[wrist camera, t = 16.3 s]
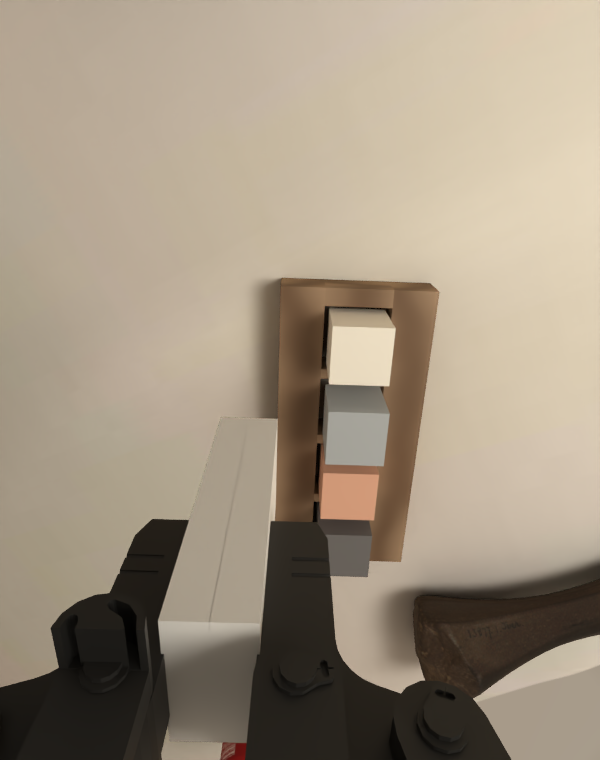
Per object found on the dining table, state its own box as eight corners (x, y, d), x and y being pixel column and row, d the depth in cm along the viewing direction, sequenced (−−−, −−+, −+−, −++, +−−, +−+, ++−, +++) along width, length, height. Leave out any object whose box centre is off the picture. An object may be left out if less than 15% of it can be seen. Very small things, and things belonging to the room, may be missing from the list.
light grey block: (322, 432, 43) (325, 464, 39) (325, 384, 41) (328, 411, 37) (374, 434, 43) (383, 466, 39) (379, 386, 42) (389, 413, 37)
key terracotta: (318, 483, 47) (320, 518, 42) (320, 441, 45) (323, 473, 40) (366, 485, 47) (373, 520, 42) (371, 443, 45) (379, 474, 40)
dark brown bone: (401, 617, 59) (634, 536, 58) (440, 723, 52) (703, 632, 52) (393, 590, 50) (665, 495, 50) (438, 712, 44) (752, 604, 43)
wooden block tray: (275, 536, 51) (274, 558, 49) (282, 278, 41) (280, 286, 39) (395, 540, 52) (400, 561, 49) (430, 283, 42) (439, 291, 39)
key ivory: (325, 360, 42) (329, 384, 37) (328, 307, 40) (332, 326, 36) (379, 362, 42) (389, 386, 37) (384, 309, 40) (395, 328, 36)
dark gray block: (315, 536, 49) (316, 575, 44) (317, 498, 47) (319, 534, 43) (361, 538, 49) (367, 576, 44) (365, 499, 47) (372, 536, 43)
